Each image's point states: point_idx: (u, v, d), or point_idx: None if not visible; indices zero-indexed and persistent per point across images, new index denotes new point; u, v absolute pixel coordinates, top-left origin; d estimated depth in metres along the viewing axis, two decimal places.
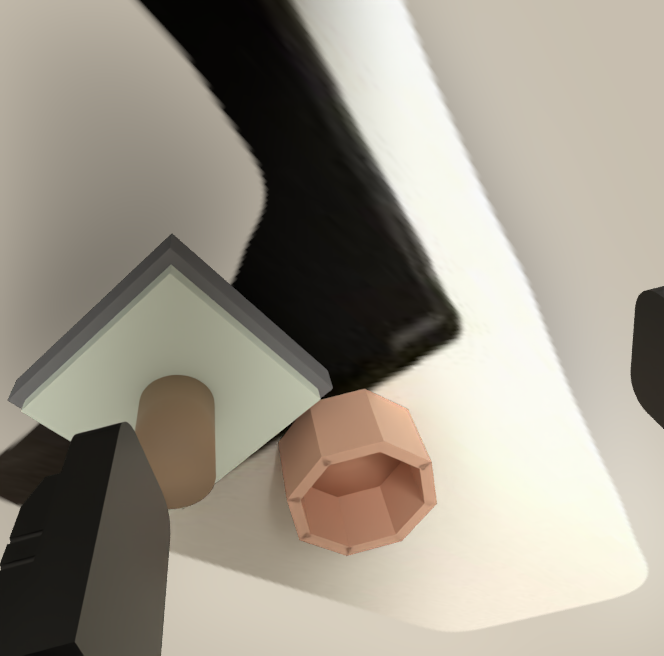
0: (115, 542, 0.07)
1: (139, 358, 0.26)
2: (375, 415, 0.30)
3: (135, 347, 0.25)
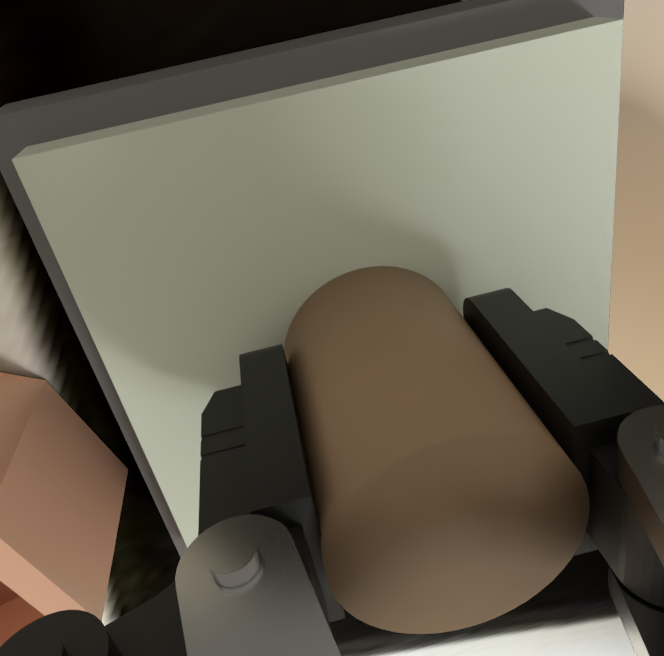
0: (301, 436, 0.08)
1: None
2: None
3: None
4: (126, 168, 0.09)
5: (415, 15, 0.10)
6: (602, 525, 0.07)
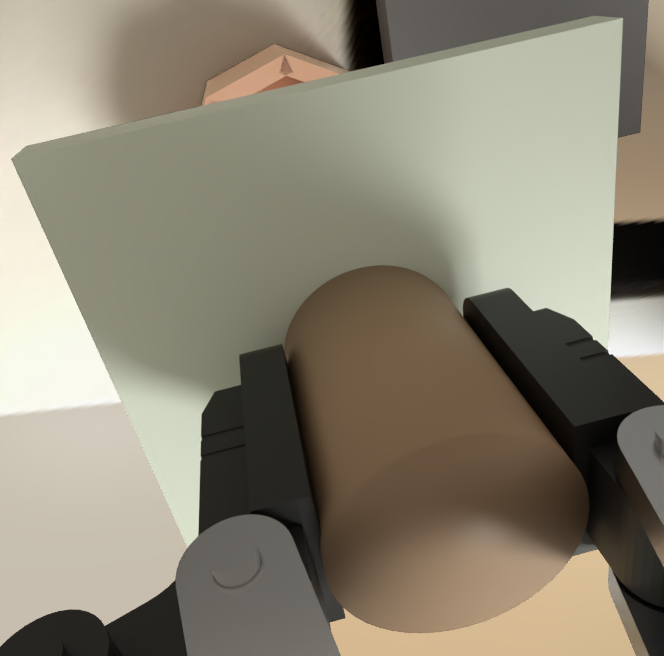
0: (301, 435, 0.08)
1: None
2: None
3: None
4: (125, 167, 0.09)
5: None
6: (602, 524, 0.07)
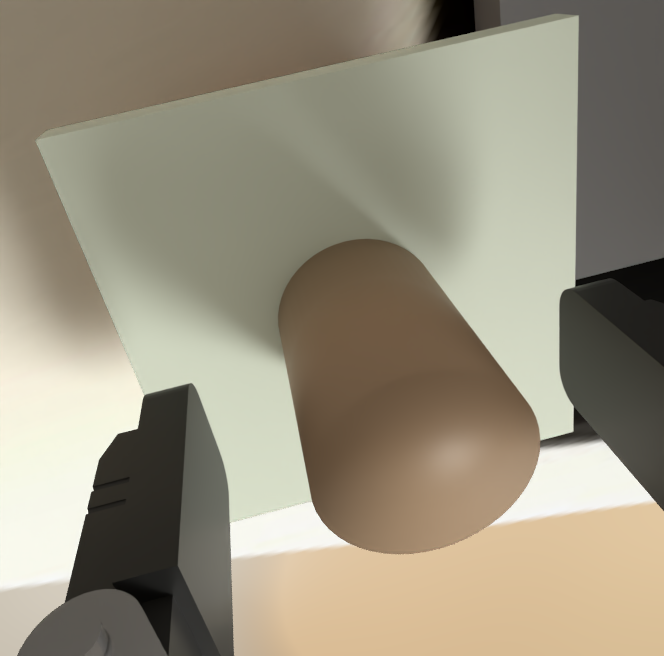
0: (194, 488, 0.08)
1: (495, 315, 0.13)
2: None
3: (516, 321, 0.13)
4: (135, 148, 0.10)
5: None
6: None
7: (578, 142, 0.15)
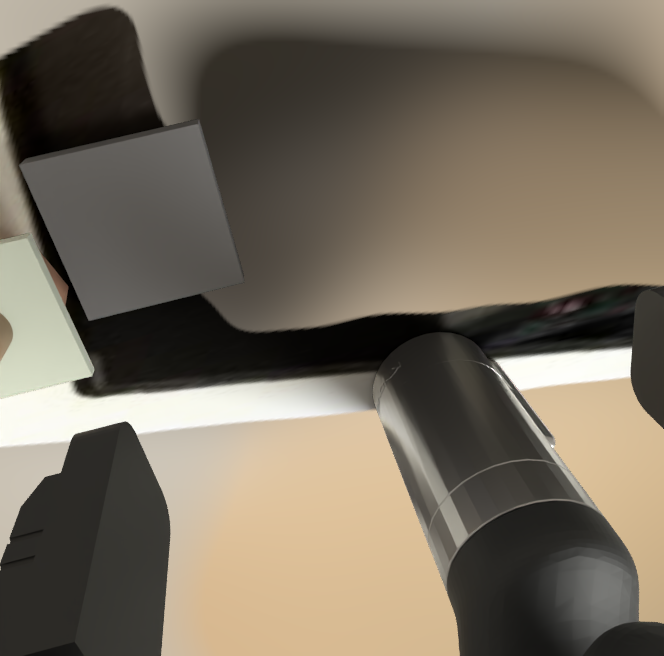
0: (114, 541, 0.07)
1: (36, 330, 0.35)
2: None
3: (46, 332, 0.35)
4: None
5: (145, 132, 0.35)
6: None
7: (94, 261, 0.37)
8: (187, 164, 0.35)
